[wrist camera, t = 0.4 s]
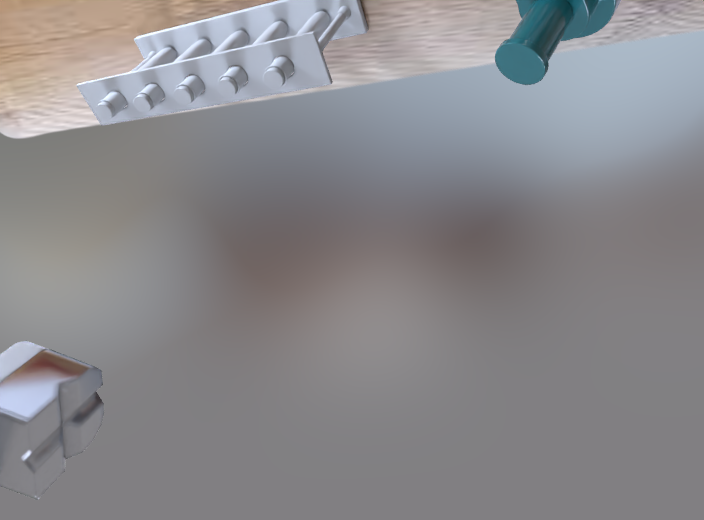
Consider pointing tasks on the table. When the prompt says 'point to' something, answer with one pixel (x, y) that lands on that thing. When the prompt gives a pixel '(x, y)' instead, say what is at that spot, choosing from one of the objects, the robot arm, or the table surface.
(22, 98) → the table surface
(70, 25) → the table surface
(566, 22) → the teal bottle
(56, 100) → the table surface
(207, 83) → the test tube rack
